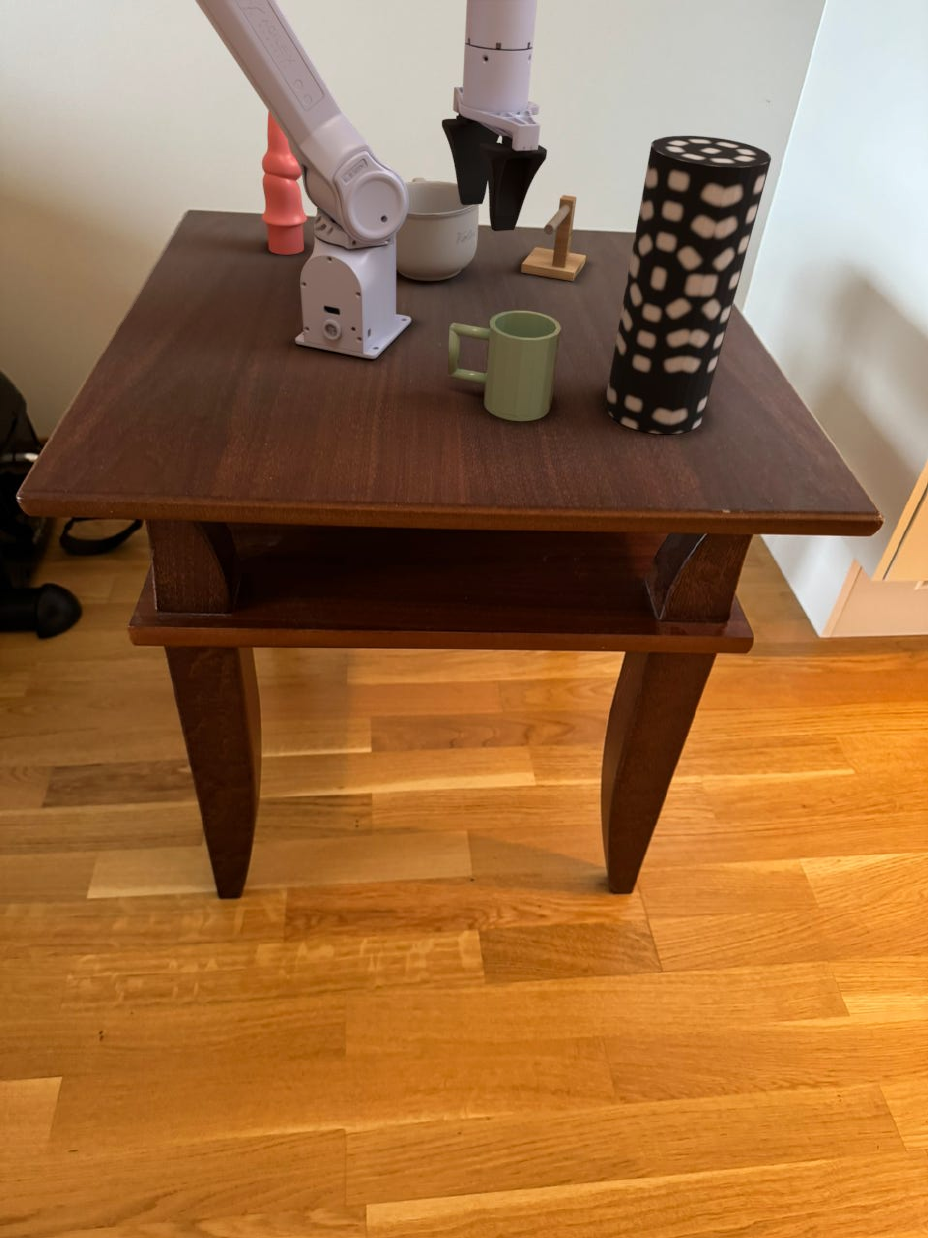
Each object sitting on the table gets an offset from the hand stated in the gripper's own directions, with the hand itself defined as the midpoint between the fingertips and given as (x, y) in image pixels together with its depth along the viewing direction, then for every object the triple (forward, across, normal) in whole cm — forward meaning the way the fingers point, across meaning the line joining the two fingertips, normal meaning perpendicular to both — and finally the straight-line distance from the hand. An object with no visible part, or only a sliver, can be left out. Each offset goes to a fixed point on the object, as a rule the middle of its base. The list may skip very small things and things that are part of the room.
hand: (486, 216), depth 82 cm
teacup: (+9, +13, +1) cm, 16 cm away
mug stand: (+9, +7, -11) cm, 16 cm away
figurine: (+9, +22, +14) cm, 28 cm away
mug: (+9, -18, +6) cm, 21 cm away
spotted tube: (+9, -23, -6) cm, 26 cm away
